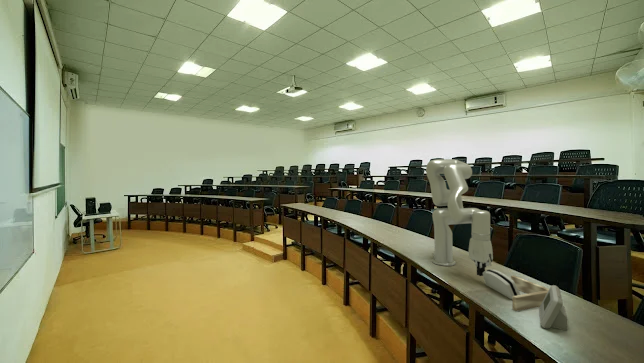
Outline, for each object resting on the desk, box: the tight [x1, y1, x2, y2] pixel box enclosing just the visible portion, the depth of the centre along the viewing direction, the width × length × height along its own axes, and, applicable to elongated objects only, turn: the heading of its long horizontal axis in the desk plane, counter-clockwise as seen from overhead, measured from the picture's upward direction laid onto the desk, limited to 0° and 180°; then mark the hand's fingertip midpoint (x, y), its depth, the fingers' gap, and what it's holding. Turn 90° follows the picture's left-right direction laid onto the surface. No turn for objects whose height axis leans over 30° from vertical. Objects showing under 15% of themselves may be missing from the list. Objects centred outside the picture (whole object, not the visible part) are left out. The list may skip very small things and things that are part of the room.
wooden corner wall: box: [510, 275, 550, 312], centre depth 113 cm, size 18×20×5 cm
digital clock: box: [539, 284, 568, 331], centre depth 95 cm, size 16×9×11 cm, turn 131°
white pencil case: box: [482, 268, 522, 300], centre depth 119 cm, size 17×5×10 cm, turn 6°
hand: (480, 275), depth 129 cm, fingers closed
